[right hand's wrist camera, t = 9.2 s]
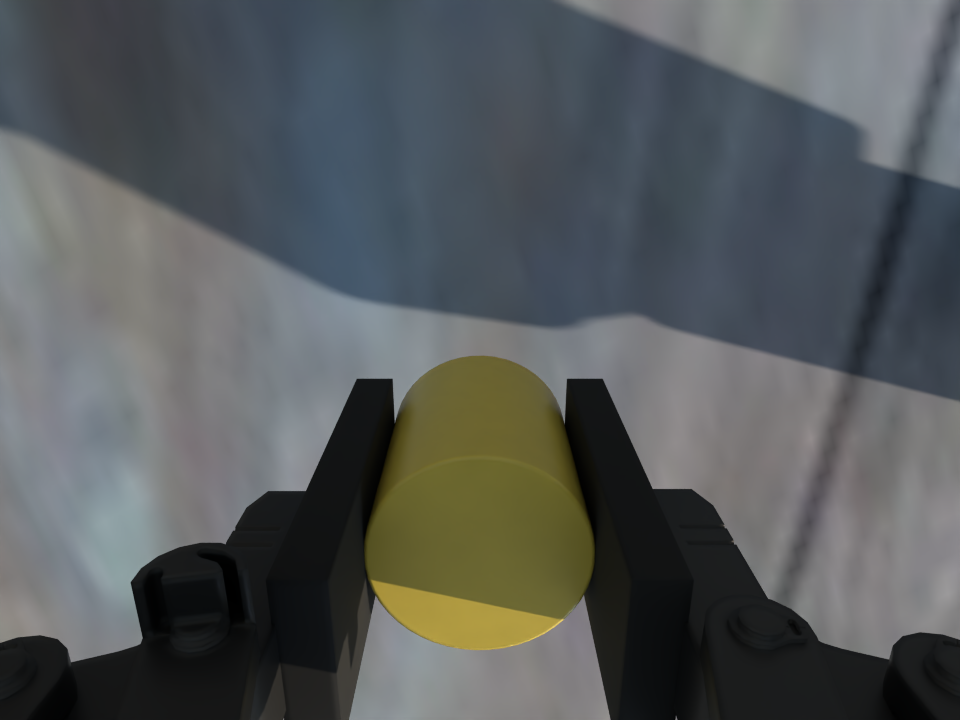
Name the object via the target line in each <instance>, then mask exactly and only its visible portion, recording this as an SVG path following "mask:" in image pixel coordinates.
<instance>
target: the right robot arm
mask: <svg viewBox="0 0 960 720" xmlns="http://www.w3.org/2000/svg"><path fill="white" fill-rule="evenodd" d="M394 425H395V420H394V399H393V379H357V380H356V382H355V384H354V386H353V389H352V391H351V393H350V395H349V397H348V400H347V402H346V404H345V406H344V408H343V411H342V413H341V415H340V417H339V419H338V422H337V424H336V426H335V428H334V430H333V433H332V435H331V437H330V439H329V441H328V444H327V446H326V448H325V450H324V452H323V455H322V457H321V459H320V461H319V463H318V466H317V468H316V470H315V472H314V475H313V477H312V479H311V481H310V483H309V486H308V488H307V490H306V491H268V492H267V493H265V494H264V495H263V496H261V497H260V498H259V499H257V500H256V501H255V502H253V503H252V504H251V505H250V506H248V507H247V508H246V510H245V511H244V513H243V515H242V516H241V518H240V520H239V522H238V523H237V525H236V527H235V531H233V532H232V534H231V535H230V537H229V539H228V540H227V542H226V544H223V543H198V544H193V545H188V546H183V547H179V548H177V549H174V550H172V551H169V552H167V553H165V554H162V555H160V556H158V557H156V558H155V559H154V560H152V561H151V562H149V563H148V564H147V565H145V566H144V567H142V568H141V569H140V571H139V572H138V573H137V575H136V576H135V577H134V579H133V580H132V581H131V586H132V591H133V595H134V600H135V605H136V609H137V614H138V618H139V623H140V627H141V632H142V637H143V639H142V642H141V644H140V645H137V646H135V647H132V648H128V649H125V650H122V651H118V652H114V653H110V654H106V655H101V656H97V657H93V658H88V659H84V660H80V661H76V662H71V661H70V657H69V653H68V650H67V648H66V647H65V646H64V645H63V644H62V643H61V642H60V641H59V640H58V639H55V638H50V637H45V636H41V635H39V636H29V637H18V638H15V639H11V640H8V641H5V642H2V643H0V720H283V718H284V720H349V717H350V712H351V707H352V702H353V698H354V693H355V688H356V684H357V679H358V674H359V670H360V665H361V660H362V656H363V651H364V646H365V642H366V637H367V632H368V628H369V623H370V618H371V614H372V609H373V604H374V600H375V593H374V592H373V589H372V587H371V585H370V582H369V580H368V577H367V573H366V569H365V559H364V538H365V533H366V529H367V525H368V521H369V517H370V514H371V510H372V506H373V503H374V499H375V495H376V492H377V488H378V484H379V481H380V477H381V473H382V469H383V466H384V462H385V458H386V455H387V451H388V447H389V444H390V440H391V436H392V433H393V429H394ZM565 428H566V432H567V436H568V439H569V443H570V447H571V451H572V454H573V458H574V462H575V465H576V469H577V473H578V477H579V480H580V484H581V488H582V492H583V495H584V499H585V503H586V507H587V510H588V514H589V518H590V522H591V525H592V529H593V533H594V538H595V564H594V570H593V574H592V577H591V580H590V583H589V585H588V588H587V590H586V591H585V593H584V597H585V602H586V606H587V611H588V616H589V620H590V625H591V630H592V634H593V639H594V644H595V649H596V653H597V658H598V663H599V667H600V672H601V677H602V681H603V686H604V691H605V695H606V700H607V705H608V709H609V714H610V719H611V720H675V718H676V716H677V720H960V640H958V639H955V638H952V637H949V636H946V635H941V634H931V633H921V632H920V633H915V634H911V635H906V636H902V637H901V638H900V639H899V640H898V641H897V642H896V643H895V644H894V645H893V647H892V651H891V655H890V659H889V660H888V659H884V658H879V657H875V656H871V655H866V654H862V653H858V652H853V651H849V650H845V649H841V648H837V647H834V646H831V645H828V644H824V643H822V642H820V641H818V638H817V636H816V635H815V633H814V632H813V630H812V629H811V627H810V625H809V624H808V622H806V621H805V620H804V619H803V618H801V617H800V616H799V615H798V614H797V613H795V612H794V611H793V610H792V609H790V608H788V607H786V606H783V605H781V604H779V603H777V602H775V601H773V600H771V599H768V598H767V596H766V595H765V593H764V591H763V589H762V588H761V586H760V584H759V583H758V581H757V579H756V578H755V576H754V574H753V572H752V571H751V569H750V567H749V566H748V564H747V562H746V560H745V559H744V557H743V555H742V554H741V552H740V550H739V549H738V547H737V545H734V540H733V538H732V537H731V535H730V533H729V532H728V530H727V528H725V527H724V523H723V521H722V520H721V518H720V516H719V515H718V513H717V511H716V509H715V508H714V506H713V505H712V504H710V503H709V502H708V501H707V500H705V499H704V498H703V497H701V496H700V495H699V494H697V493H696V492H695V491H693V490H692V489H652V487H651V484H650V482H649V480H648V478H647V476H646V473H645V471H644V469H643V467H642V465H641V462H640V460H639V458H638V456H637V454H636V451H635V449H634V447H633V445H632V443H631V440H630V438H629V436H628V434H627V432H626V429H625V427H624V425H623V423H622V421H621V418H620V416H619V414H618V412H617V409H616V407H615V405H614V403H613V401H612V398H611V396H610V394H609V392H608V390H607V387H606V385H605V383H604V381H603V379H567V390H566V411H565Z"/></svg>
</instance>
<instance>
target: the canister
mask: <svg viewBox="0 0 960 720" xmlns="http://www.w3.org/2000/svg"><path fill="white" fill-rule="evenodd" d="M364 559H365V569H366V573H367V577H368V580H369V582H370V585H371V587H372V589H373V592H374V593H375V595H376V597H377V598H378V600H379V602H380V603H381V604H382V606H383V607H384V608H385V609H386V610H387V612H388V613H389V614H390V615H391V616H392V617H393V618H394V619H396V620H397V621H398V622H399V623H400V624H402V625H403V626H404V627H406V628H407V629H408V630H410V631H412V632H414V633H415V634H417V635H419V636H421V637H423V638H425V639H428V640H430V641H432V642H435V643H438V644H442V645H445V646H449V647H454V648H459V649H469V650H491V649H499V648H505V647H510V646H514V645H518V644H521V643H524V642H527V641H530V640H532V639H534V638H536V637H538V636H540V635H542V634H544V633H546V632H547V631H549V630H550V629H552V628H554V627H555V626H556V625H558V624H559V623H560V622H561V621H563V620H564V619H565V618H566V617H567V616H568V615H569V614H570V613H571V612H572V611H573V610H574V608H575V607H576V606H577V604H578V603H579V602H580V600H581V599H582V597H583V595H584V593H585V591H586V590H587V588H588V585H589V583H590V580H591V577H592V574H593V570H594V564H595V538H594V533H593V529H592V525H591V522H590V518H589V514H588V510H587V507H586V503H585V499H584V495H583V492H582V488H581V484H580V480H579V477H578V473H577V469H576V465H575V462H574V458H573V454H572V451H571V447H570V443H569V439H568V436H567V432H566V428H565V424H564V421H563V417H562V413H561V410H560V407H559V405H558V402H557V400H556V398H555V397H554V395H553V393H552V392H551V390H550V389H549V388H548V387H547V385H546V384H545V383H544V382H543V381H542V380H541V379H540V378H539V377H538V376H537V375H535V374H534V373H532V372H531V371H530V370H528V369H527V368H525V367H523V366H521V365H519V364H517V363H514V362H512V361H509V360H506V359H502V358H497V357H491V356H469V357H462V358H458V359H454V360H450V361H448V362H445V363H443V364H440V365H438V366H437V367H435V368H433V369H431V370H430V371H428V372H427V373H426V374H424V375H423V376H422V377H420V378H419V379H418V380H417V381H416V382H415V383H414V384H413V386H412V387H411V388H410V390H409V391H408V392H407V394H406V396H405V397H404V399H403V401H402V403H401V406H400V408H399V411H398V414H397V418H396V422H395V425H394V429H393V433H392V436H391V440H390V444H389V447H388V451H387V455H386V458H385V462H384V466H383V469H382V473H381V477H380V481H379V484H378V488H377V492H376V495H375V499H374V503H373V506H372V510H371V514H370V517H369V521H368V525H367V529H366V533H365V538H364Z"/></svg>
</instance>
